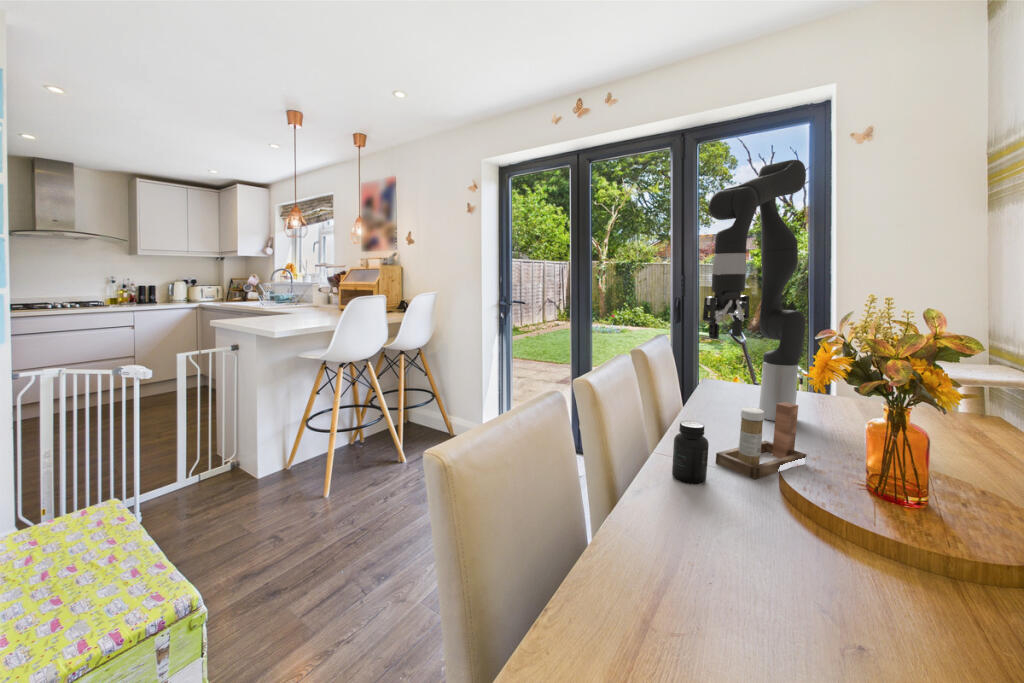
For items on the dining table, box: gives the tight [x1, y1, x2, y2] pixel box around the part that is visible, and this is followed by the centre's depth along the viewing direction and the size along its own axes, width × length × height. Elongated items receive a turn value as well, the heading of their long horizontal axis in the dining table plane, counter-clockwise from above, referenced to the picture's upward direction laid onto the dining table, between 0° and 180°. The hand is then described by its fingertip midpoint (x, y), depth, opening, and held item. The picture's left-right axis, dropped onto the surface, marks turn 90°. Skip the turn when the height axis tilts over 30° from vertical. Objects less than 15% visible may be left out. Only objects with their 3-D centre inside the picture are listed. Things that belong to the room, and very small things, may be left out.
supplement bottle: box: [671, 420, 710, 486], centre depth 95 cm, size 7×7×12 cm
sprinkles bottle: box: [738, 406, 765, 466], centre depth 100 cm, size 5×5×13 cm
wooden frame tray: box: [715, 402, 807, 480], centre depth 103 cm, size 19×10×13 cm, turn 117°
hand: (725, 337), depth 113 cm, fingers open, 8 cm apart
